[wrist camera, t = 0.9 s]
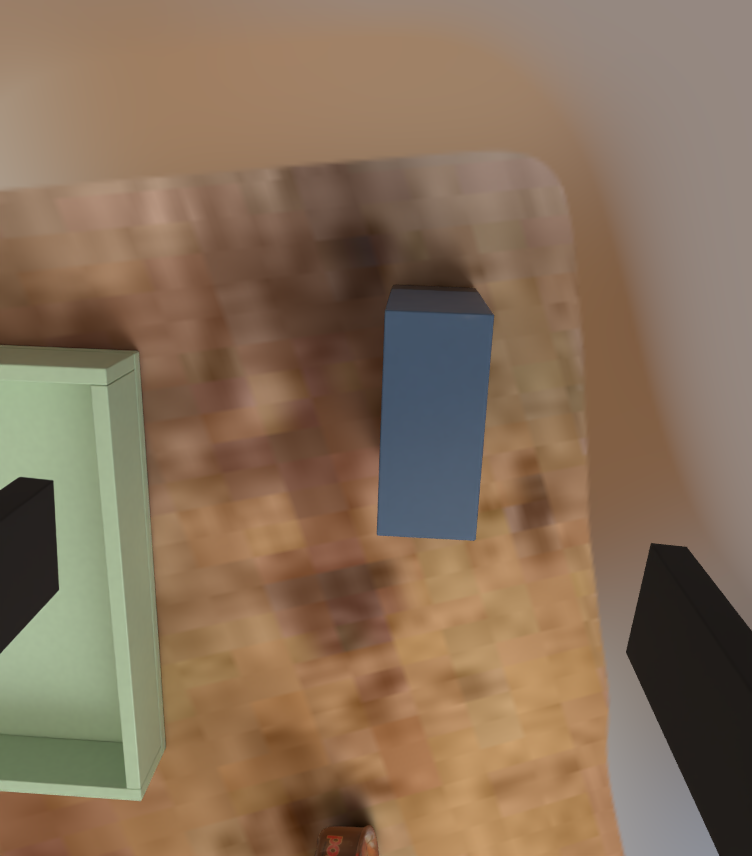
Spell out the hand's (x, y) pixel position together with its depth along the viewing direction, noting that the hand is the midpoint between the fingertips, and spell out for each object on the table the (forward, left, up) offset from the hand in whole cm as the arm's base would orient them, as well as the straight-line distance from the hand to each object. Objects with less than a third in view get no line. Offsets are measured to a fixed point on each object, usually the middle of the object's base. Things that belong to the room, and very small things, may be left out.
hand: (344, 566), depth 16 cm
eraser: (0, +2, -16) cm, 17 cm away
